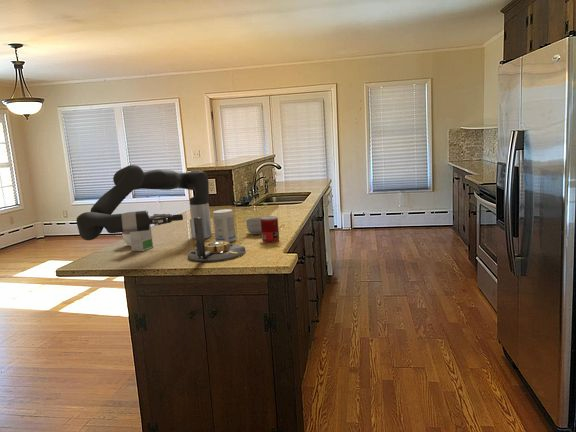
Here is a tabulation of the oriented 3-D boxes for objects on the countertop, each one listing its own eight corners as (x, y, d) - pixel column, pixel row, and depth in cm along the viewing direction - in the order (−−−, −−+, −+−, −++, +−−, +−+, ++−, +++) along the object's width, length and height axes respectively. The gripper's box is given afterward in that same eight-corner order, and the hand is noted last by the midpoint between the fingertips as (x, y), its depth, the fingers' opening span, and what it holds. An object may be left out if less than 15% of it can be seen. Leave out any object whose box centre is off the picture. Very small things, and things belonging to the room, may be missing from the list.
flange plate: (175, 259, 190) (174, 248, 189) (211, 246, 210) (210, 235, 210) (223, 263, 178) (222, 251, 177) (256, 249, 199) (255, 237, 198)
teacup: (243, 235, 230) (242, 219, 229) (253, 231, 240) (251, 216, 239) (268, 236, 225) (267, 219, 224) (277, 231, 235) (276, 216, 234)
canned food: (277, 242, 209) (275, 218, 208) (260, 242, 211) (258, 219, 209) (280, 238, 217) (279, 215, 215) (264, 239, 218) (262, 216, 217)
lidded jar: (124, 248, 218) (122, 229, 217) (122, 244, 228) (120, 226, 226) (147, 245, 222) (145, 226, 221) (145, 241, 232) (143, 223, 231)
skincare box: (142, 251, 210) (138, 217, 207) (130, 251, 212) (126, 217, 209) (153, 247, 217) (150, 214, 215) (142, 246, 220) (138, 214, 217)
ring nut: (211, 246, 201) (207, 210, 198) (233, 246, 197) (230, 209, 195) (187, 258, 182) (183, 218, 179) (212, 259, 179) (208, 218, 176)
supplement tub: (233, 238, 226) (230, 208, 224) (238, 241, 217) (235, 210, 215) (213, 240, 223) (210, 210, 220) (217, 244, 214) (214, 213, 212)
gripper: (133, 213, 166) (183, 209, 171) (134, 209, 178) (180, 205, 183) (136, 234, 167) (184, 229, 172) (137, 228, 179) (182, 224, 184)
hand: (182, 216), depth 177 cm, fingers closed
